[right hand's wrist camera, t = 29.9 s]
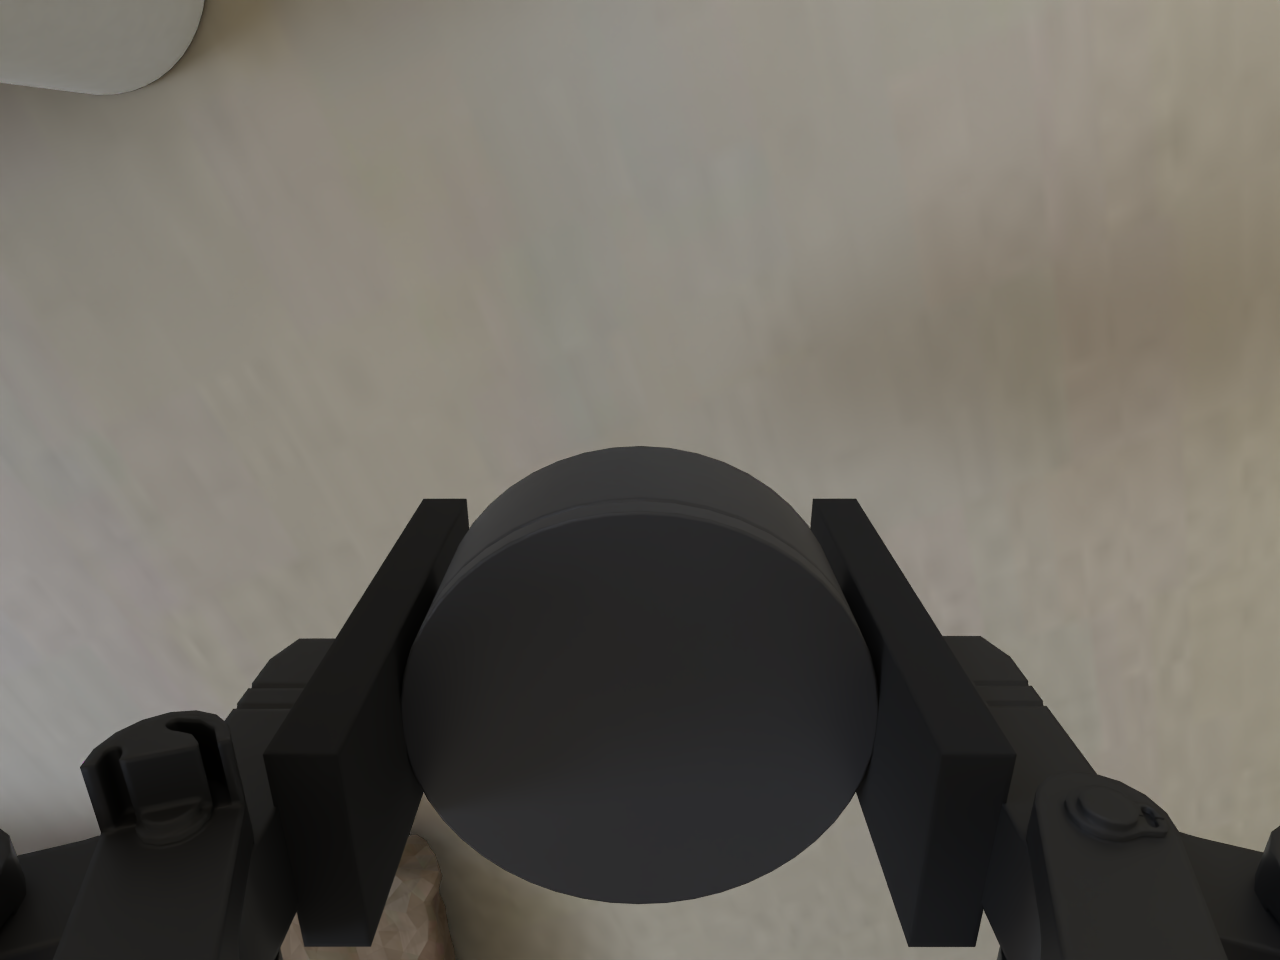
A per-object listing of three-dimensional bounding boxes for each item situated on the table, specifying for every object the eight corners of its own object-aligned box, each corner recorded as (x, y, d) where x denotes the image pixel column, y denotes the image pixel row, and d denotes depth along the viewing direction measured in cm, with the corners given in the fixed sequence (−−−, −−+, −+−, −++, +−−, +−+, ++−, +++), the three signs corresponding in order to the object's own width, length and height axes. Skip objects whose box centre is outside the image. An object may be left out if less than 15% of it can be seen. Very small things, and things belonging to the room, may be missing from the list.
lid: (921, 600, 12) (981, 695, 10) (670, 842, 14) (675, 967, 12) (599, 357, 11) (590, 407, 9) (366, 660, 13) (309, 763, 11)
